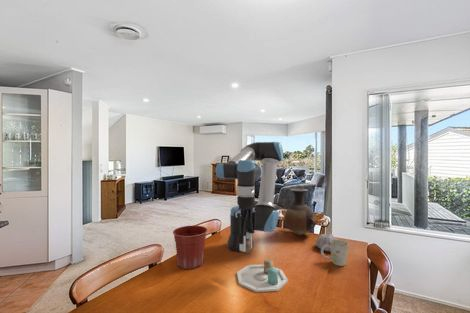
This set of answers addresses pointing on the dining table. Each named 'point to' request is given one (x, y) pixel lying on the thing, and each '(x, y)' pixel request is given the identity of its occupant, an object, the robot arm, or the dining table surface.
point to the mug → (337, 252)
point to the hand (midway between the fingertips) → (245, 249)
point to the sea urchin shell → (325, 241)
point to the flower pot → (190, 246)
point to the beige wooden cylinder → (267, 265)
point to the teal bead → (272, 276)
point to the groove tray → (259, 279)
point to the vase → (299, 215)
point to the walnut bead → (247, 247)
